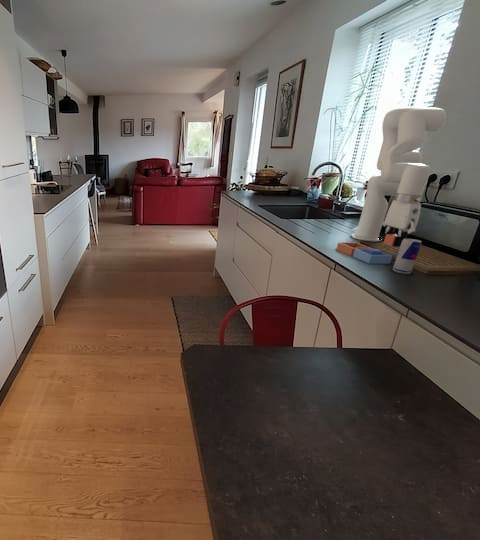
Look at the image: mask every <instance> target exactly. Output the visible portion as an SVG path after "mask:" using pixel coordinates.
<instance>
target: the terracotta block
mask: <svg viewBox="0 0 480 540" xmlns="http://www.w3.org/2000/svg"><path fill="white" fill-rule="evenodd" d="M385 235H386V237H385V236H384V238H385V240H384V239H383V241H384V243H383V242H382V243H383V245H387V246H390V247H394V246H393V244H394V241H395V238H396V236H398V233H394V234H386V233H385Z"/></svg>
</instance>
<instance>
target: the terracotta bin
mask: <svg viewBox="0 0 480 540" xmlns="http://www.w3.org/2000/svg"><path fill="white" fill-rule="evenodd" d="M365 248H372V247H370V246H368V245H365V244H362V243H359V242H344V241H343V242H342V241H341V242H338V243H337V246H336V251H338V252H340V253H342V254H346V255H347V256H350V257H353V254H354V251H355V249H365Z"/></svg>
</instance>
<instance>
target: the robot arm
mask: <svg viewBox="0 0 480 540" xmlns="http://www.w3.org/2000/svg"><path fill="white" fill-rule="evenodd" d="M446 113H447V112H446V111H445V109H444V108H439V107H399V108H392V109H391V110H389V111H387V112H386V114H385V115H384V117H383V121H382V125H381V126H382V127H381V128H382V143H381V146H380V150H379V154H378V158H377V162H376V168H377V170H378V171H380V173H379V174H375V175H372V176H370V177H369V179H368V181H367V184H366V185H367V186H366V193H365V194H366V195H365V200H364V203H363V207H362V211H361V214H360V217H359V221H358V224H357V227H355V228H352V232H354V233H351V238H353V239H356V240H360V241H365V242H375V243H376V242H382V240H383V242H382V243H384V240H385V237H386V234H395V231H396V229H398V232H397V235H398V236H396V238H395V241H394V244H393V246H392V247H394V248H396V247H397V248H398V247H399V248H400V246H401V243H402V241H403V239H405V238H407V237H408V236H409V235H411V234H414V233H416V228H417V226H418V222H419V219H420V214H421V209H422V204H421V203H420V202H422V201H423V198H422V197H423V194H424V191H425V188H426V185H427V183H428V180H429V177H430V174H431V171H432V167H431V166H430V165H427V164H424V163H422V161H423V156H422V152H420V151H418V149H420V148H421V147H423V146H424V144H425V143H426V132H437V131H440V130H441V129H442V128H443V127H444V125H445V123H446V120H447V114H446ZM385 196H392V197H394V196H395V197H394V200H392V202H391V204H390V206H389V203H388V200H387V198H386V197H385ZM382 227H383V228H384V234H385V235H384V239H383V238H382V239H381V240H379V238H378V237H380V233H381V230H382Z"/></svg>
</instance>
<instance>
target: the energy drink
mask: <svg viewBox="0 0 480 540" xmlns="http://www.w3.org/2000/svg"><path fill="white" fill-rule="evenodd" d="M422 245H423V244H422V240H420V239H415V238H407V237H405V238H404V239H403V241H402V243H401V246H400V247H399V249H398V252H397V255H396V258H395V261H394V264H393V266H392V271H393V272H395V273H399V274H403V275H410V274H412V272H413V269H414V267H415V264H416V261H417V258H418V255H419V252H420V249H421V247H422Z"/></svg>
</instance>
